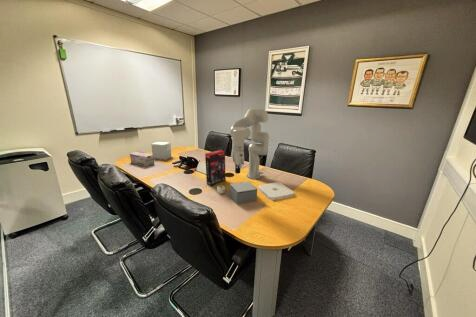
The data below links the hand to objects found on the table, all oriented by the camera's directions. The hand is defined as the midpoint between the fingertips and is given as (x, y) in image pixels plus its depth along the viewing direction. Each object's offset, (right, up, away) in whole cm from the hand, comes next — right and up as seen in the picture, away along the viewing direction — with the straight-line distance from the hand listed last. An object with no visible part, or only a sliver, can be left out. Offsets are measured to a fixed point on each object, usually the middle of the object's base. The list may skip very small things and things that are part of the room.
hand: (237, 172), depth 136 cm
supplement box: (-91, +11, +96) cm, 133 cm away
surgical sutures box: (-104, +4, +75) cm, 128 cm away
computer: (+30, -17, +18) cm, 39 cm away
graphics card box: (-19, -11, +32) cm, 39 cm away
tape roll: (-13, -16, +15) cm, 26 cm away
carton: (+4, -19, +7) cm, 21 cm away
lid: (+4, -11, +5) cm, 13 cm away
